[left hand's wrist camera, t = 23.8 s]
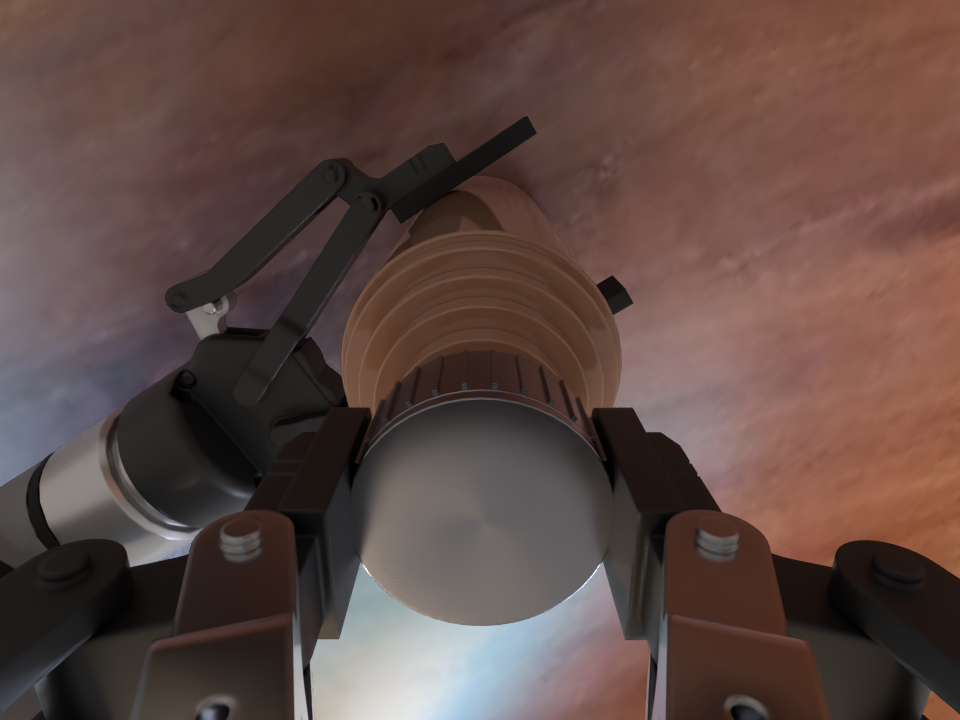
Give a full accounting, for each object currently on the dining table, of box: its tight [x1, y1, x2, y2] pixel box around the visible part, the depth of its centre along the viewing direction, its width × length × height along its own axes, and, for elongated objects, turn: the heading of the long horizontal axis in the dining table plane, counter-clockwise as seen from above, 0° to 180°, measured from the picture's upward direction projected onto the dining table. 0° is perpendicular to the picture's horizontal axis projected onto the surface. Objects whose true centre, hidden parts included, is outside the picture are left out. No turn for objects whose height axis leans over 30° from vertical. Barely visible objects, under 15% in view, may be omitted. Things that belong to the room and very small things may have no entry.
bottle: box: [341, 176, 622, 419], centre depth 22 cm, size 7×7×24 cm
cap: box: [350, 349, 613, 626], centre depth 11 cm, size 4×4×2 cm
